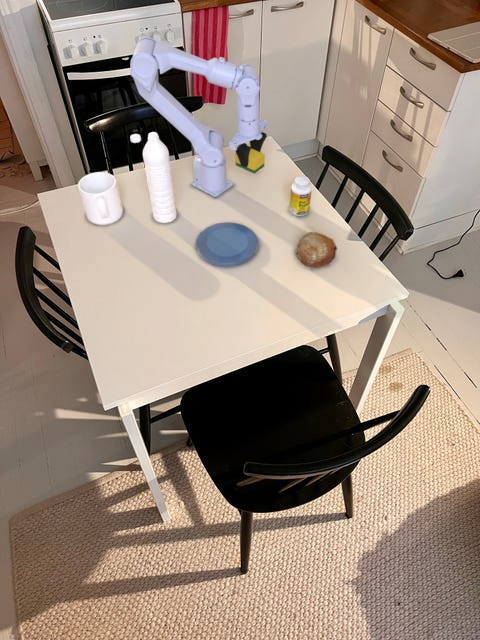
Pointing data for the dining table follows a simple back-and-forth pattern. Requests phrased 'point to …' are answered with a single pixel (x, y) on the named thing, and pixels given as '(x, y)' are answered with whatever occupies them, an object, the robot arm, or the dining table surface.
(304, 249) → the bread roll
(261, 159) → the sponge
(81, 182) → the mug
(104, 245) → the dining table surface
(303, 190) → the supplement bottle
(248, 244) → the plate
